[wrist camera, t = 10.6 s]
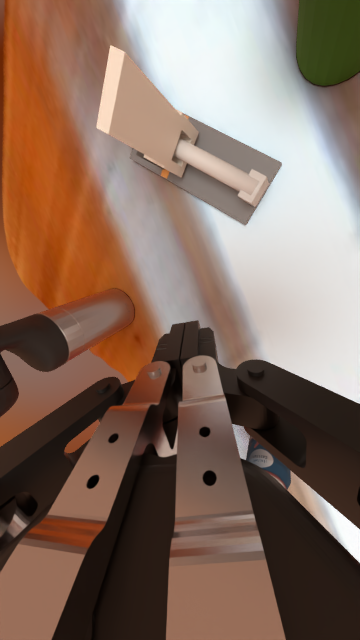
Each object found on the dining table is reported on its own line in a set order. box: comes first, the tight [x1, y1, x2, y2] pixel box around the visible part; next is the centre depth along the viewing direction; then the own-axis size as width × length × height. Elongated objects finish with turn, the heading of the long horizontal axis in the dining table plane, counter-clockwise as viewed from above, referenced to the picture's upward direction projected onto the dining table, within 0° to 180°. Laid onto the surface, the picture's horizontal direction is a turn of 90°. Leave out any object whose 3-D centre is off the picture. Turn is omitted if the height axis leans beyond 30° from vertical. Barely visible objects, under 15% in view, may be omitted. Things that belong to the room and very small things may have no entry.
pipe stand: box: [130, 113, 282, 225], centre depth 29 cm, size 22×8×6 cm, turn 63°
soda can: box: [246, 436, 291, 490], centre depth 38 cm, size 7×7×12 cm
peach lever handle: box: [96, 45, 199, 177], centre depth 24 cm, size 4×6×16 cm
